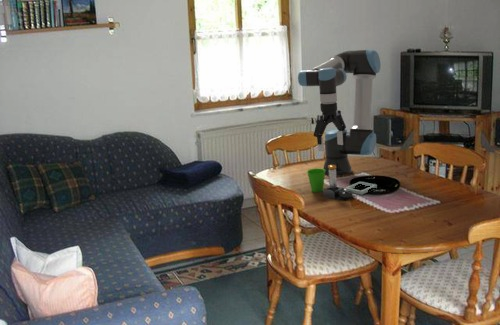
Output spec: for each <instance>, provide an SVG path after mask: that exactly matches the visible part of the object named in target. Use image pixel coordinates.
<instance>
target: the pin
mask: <svg viewBox="0 0 500 325" xmlns="http://www.w3.org/2000/svg"><path fill="white" fill-rule="evenodd" d="M328 169H329V176H328V181H329V182H328V183H329V187H330V190H333V191H335V190H337V187H338V183H337V182H338V180H337V176H336V165H329V166H328Z"/></svg>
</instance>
